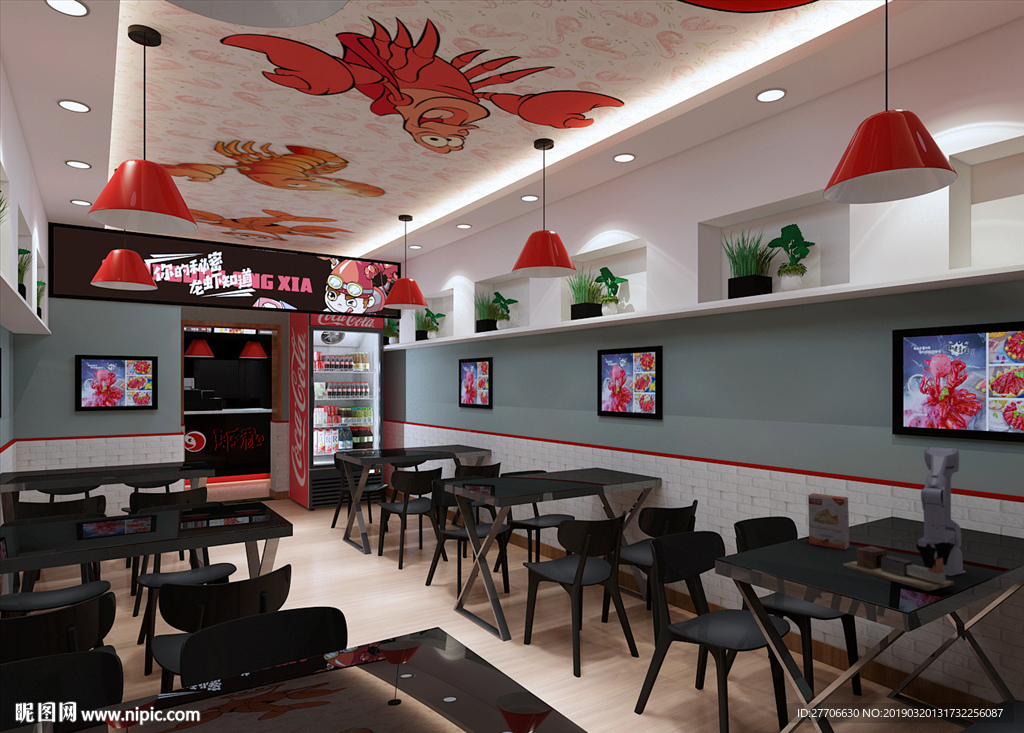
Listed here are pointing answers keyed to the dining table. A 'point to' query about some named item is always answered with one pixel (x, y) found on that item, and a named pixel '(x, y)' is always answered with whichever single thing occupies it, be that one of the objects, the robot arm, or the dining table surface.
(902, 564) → the sleeve
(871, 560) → the socket block
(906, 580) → the board
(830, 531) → the cracker box
